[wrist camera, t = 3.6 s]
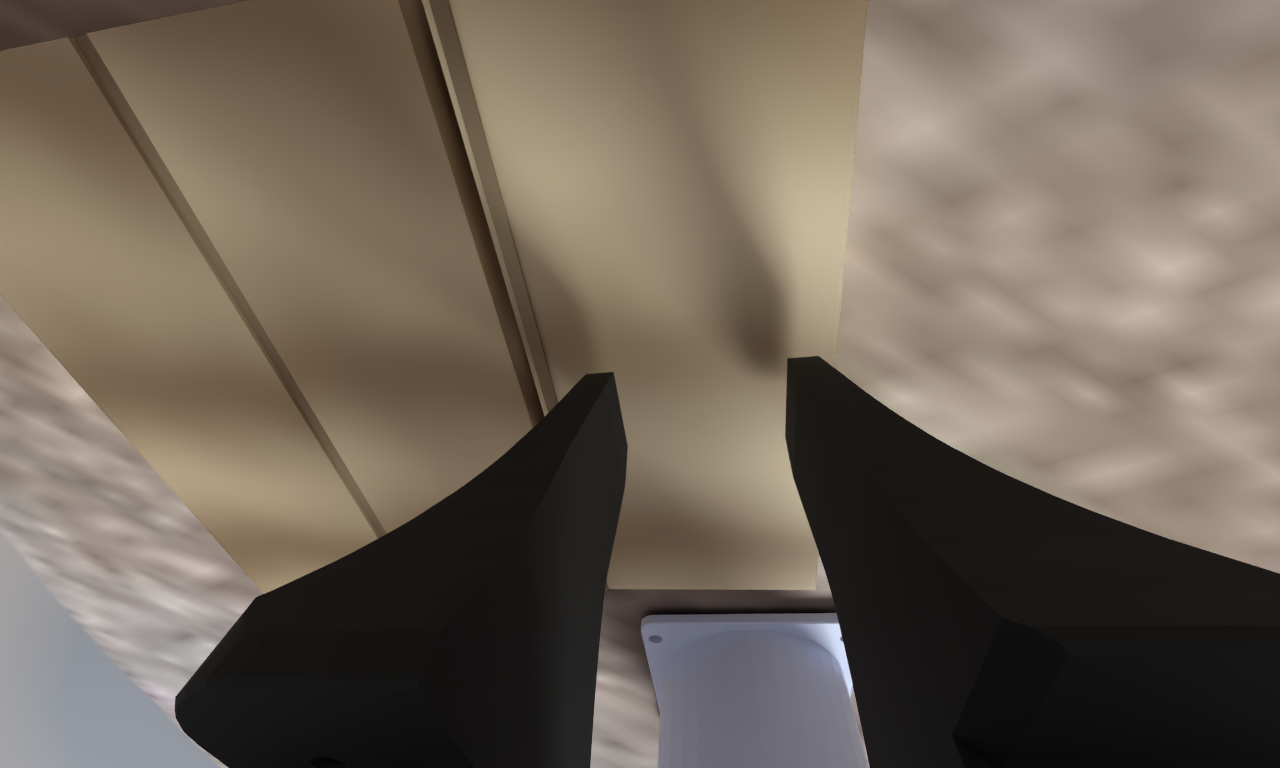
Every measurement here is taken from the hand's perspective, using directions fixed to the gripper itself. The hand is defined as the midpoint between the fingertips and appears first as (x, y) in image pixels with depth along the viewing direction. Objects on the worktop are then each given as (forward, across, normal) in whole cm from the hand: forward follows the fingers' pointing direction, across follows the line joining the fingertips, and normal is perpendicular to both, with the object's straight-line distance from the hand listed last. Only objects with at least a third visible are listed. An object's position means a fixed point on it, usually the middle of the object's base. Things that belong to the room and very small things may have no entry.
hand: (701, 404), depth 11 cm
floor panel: (+2, +10, 0) cm, 11 cm away
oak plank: (+2, 0, 0) cm, 2 cm away
